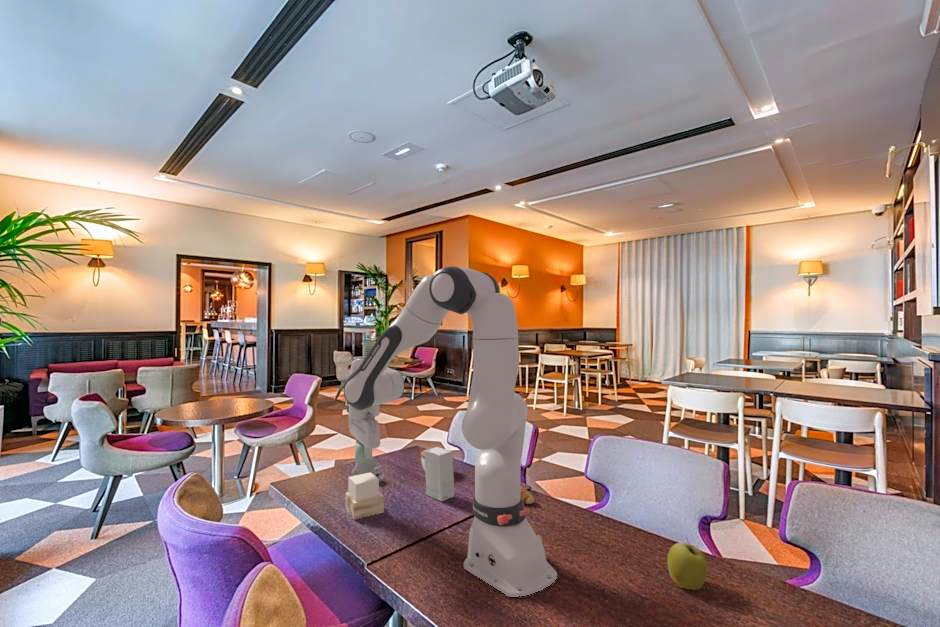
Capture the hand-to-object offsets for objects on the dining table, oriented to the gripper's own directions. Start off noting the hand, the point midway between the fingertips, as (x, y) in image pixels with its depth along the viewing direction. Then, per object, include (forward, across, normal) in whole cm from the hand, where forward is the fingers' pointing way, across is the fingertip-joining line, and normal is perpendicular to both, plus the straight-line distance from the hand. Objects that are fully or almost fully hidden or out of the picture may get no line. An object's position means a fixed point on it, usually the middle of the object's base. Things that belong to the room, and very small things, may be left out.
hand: (363, 455), depth 127 cm
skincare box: (+16, -3, -24) cm, 29 cm away
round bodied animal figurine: (+17, +22, -9) cm, 29 cm away
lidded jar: (+16, +16, -32) cm, 39 cm away
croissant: (+16, -15, -42) cm, 47 cm away
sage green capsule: (+2, 0, 0) cm, 2 cm away
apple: (+16, -72, -49) cm, 89 cm away
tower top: (+12, 0, 0) cm, 12 cm away
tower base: (+17, -1, 0) cm, 17 cm away
